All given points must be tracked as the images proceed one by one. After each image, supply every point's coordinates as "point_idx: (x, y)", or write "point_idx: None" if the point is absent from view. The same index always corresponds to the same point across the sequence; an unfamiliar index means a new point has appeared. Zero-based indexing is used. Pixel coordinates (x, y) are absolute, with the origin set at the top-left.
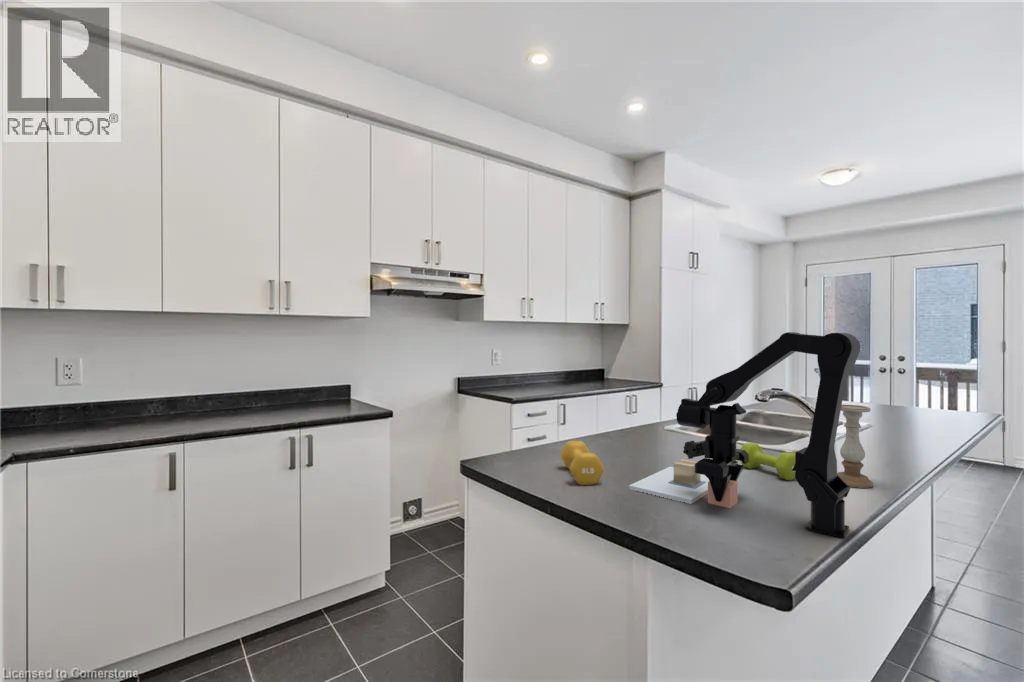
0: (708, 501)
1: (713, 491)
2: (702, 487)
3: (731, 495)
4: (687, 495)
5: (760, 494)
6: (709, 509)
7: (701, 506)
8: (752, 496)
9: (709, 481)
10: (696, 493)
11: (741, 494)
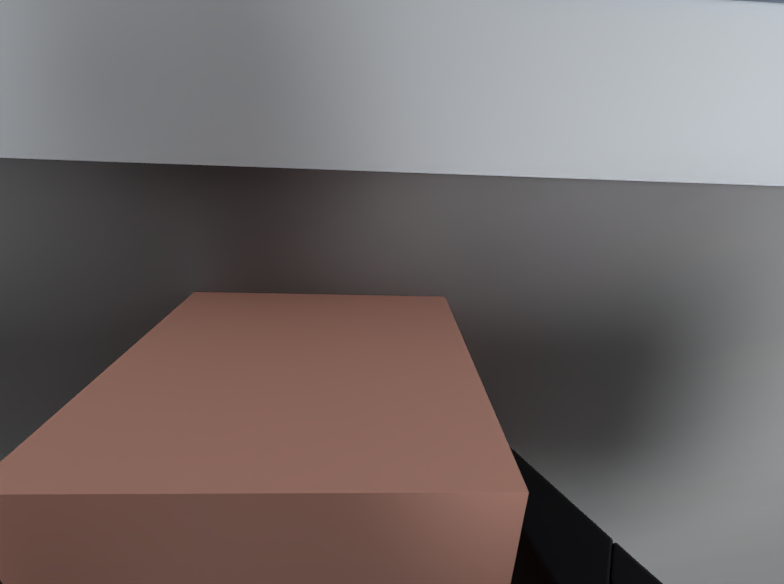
0: (188, 305)
1: None
2: (636, 70)
3: None
4: (42, 12)
5: (772, 547)
6: (13, 369)
7: (19, 276)
8: (682, 521)
9: (41, 506)
10: (261, 104)
11: (702, 448)
